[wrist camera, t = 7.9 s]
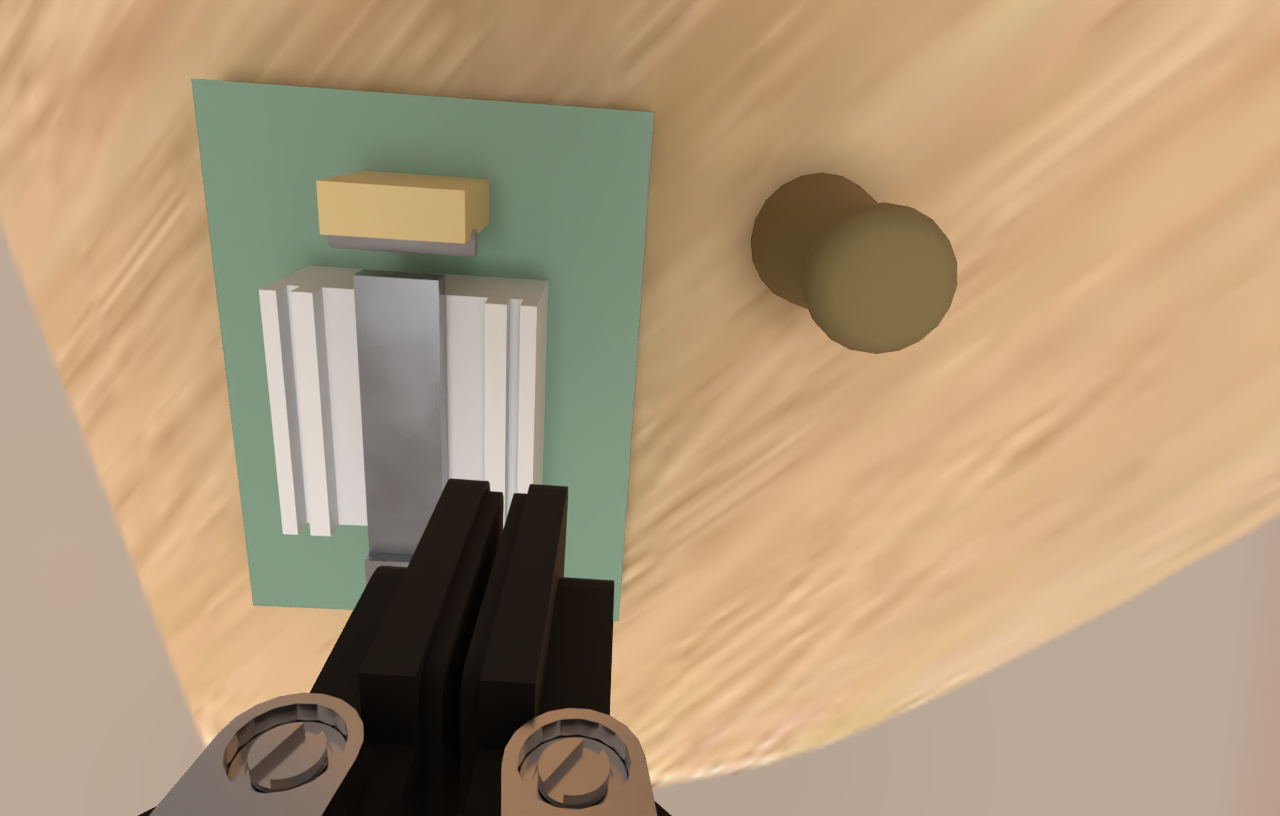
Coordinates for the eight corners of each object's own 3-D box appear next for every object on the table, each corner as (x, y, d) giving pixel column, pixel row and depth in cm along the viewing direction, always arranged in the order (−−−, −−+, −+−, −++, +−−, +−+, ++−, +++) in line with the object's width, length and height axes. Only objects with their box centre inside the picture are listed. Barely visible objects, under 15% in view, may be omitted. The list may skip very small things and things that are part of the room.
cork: (746, 305, 37) (795, 376, 27) (755, 171, 35) (811, 193, 25) (873, 306, 37) (970, 377, 27) (889, 173, 35) (1000, 196, 25)
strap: (363, 269, 29) (347, 278, 27) (445, 274, 29) (434, 283, 28) (379, 579, 34) (367, 603, 32) (450, 582, 34) (441, 606, 32)
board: (227, 81, 33) (103, 70, 25) (651, 112, 34) (661, 110, 26) (278, 572, 42) (196, 680, 34) (618, 587, 42) (618, 696, 34)
